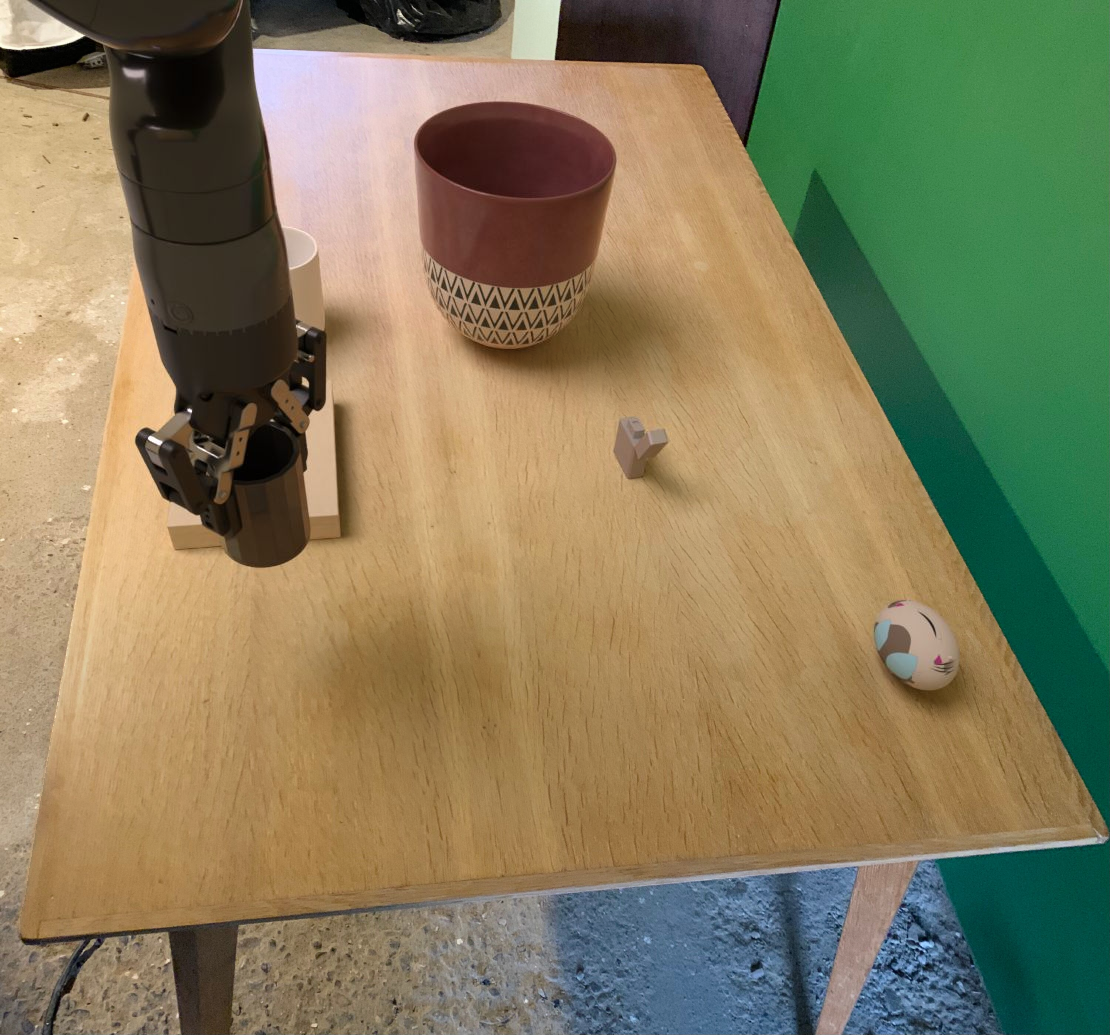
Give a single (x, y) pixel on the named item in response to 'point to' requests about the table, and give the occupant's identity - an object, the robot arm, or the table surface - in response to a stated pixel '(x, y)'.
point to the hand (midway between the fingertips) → (259, 498)
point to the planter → (510, 217)
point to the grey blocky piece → (636, 446)
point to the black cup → (268, 500)
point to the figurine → (916, 645)
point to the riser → (317, 481)
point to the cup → (305, 277)
